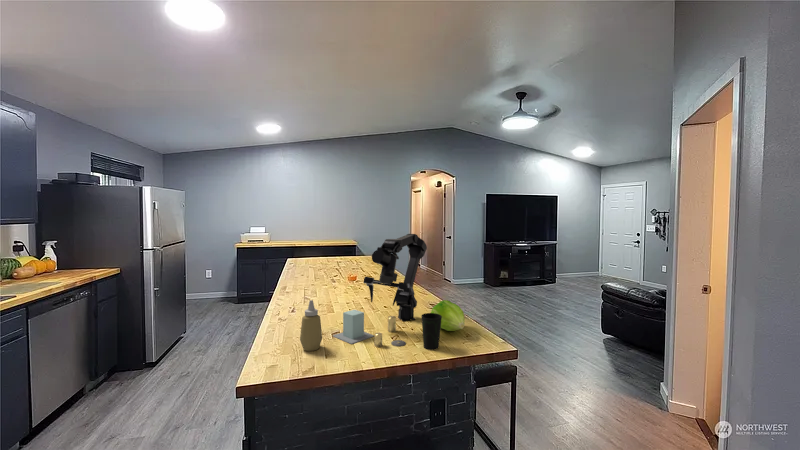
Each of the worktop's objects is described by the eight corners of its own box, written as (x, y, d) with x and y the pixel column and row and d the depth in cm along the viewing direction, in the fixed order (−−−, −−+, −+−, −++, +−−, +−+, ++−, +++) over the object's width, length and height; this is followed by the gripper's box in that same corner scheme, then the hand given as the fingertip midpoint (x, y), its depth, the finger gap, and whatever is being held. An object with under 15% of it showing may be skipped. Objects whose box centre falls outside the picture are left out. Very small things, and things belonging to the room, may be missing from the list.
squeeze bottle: (310, 354, 123) (310, 304, 122) (295, 349, 127) (295, 301, 126) (326, 347, 129) (327, 299, 129) (311, 342, 134) (311, 296, 133)
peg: (393, 329, 150) (394, 315, 150) (397, 331, 147) (397, 317, 147) (386, 330, 149) (386, 316, 148) (389, 332, 146) (389, 318, 145)
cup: (443, 344, 133) (443, 314, 132) (438, 352, 126) (439, 320, 125) (423, 342, 135) (424, 312, 135) (418, 349, 128) (419, 317, 128)
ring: (402, 340, 138) (402, 339, 138) (408, 345, 132) (408, 344, 132) (389, 342, 135) (389, 341, 135) (394, 347, 130) (394, 346, 130)
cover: (354, 331, 145) (354, 309, 145) (363, 335, 141) (364, 312, 141) (343, 335, 141) (343, 312, 140) (352, 339, 137) (352, 315, 136)
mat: (355, 329, 149) (355, 328, 149) (374, 336, 141) (374, 335, 141) (332, 336, 141) (332, 335, 141) (351, 344, 132) (351, 343, 132)
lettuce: (444, 341, 136) (445, 311, 136) (426, 325, 156) (427, 299, 155) (476, 338, 140) (476, 309, 140) (454, 323, 160) (455, 297, 159)
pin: (380, 343, 134) (380, 332, 133) (383, 346, 131) (383, 334, 131) (373, 344, 132) (373, 333, 132) (375, 347, 130) (376, 335, 129)
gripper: (366, 261, 142) (358, 300, 138) (410, 269, 141) (404, 307, 138) (367, 264, 153) (361, 300, 149) (409, 271, 152) (403, 307, 149)
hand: (382, 303), depth 146 cm, fingers open, 9 cm apart
